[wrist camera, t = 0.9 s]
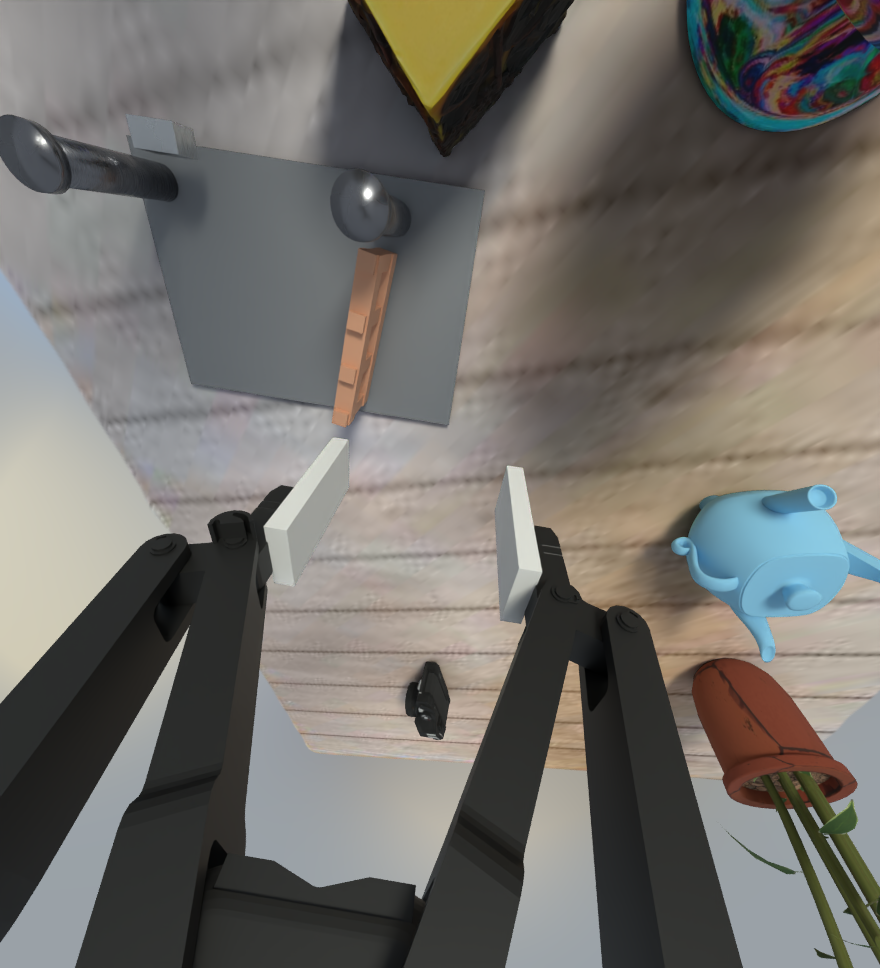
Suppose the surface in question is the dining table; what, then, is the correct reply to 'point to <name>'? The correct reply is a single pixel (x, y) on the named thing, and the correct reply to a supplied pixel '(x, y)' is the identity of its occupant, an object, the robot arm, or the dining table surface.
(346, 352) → the gate
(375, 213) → the glossy grey waisted cylinder
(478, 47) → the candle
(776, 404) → the dining table surface
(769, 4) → the vase
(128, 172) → the latch post
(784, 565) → the teapot
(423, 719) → the film camera
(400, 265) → the mat
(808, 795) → the potted plant
